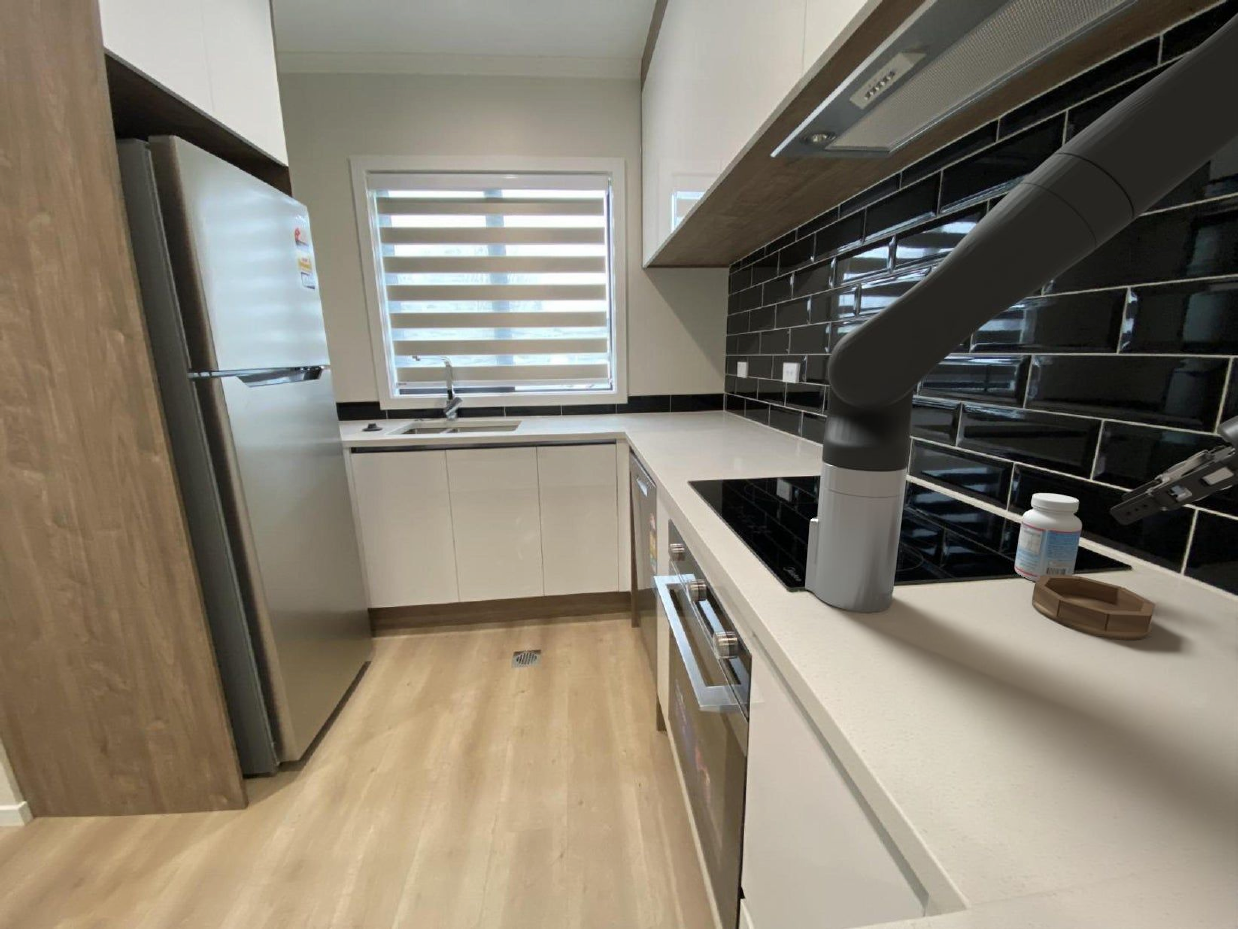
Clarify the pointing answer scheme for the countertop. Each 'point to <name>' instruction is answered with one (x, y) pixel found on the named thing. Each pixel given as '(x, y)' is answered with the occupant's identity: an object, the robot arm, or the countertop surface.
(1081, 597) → the bowl
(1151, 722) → the countertop surface
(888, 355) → the robot arm
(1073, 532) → the pill bottle
